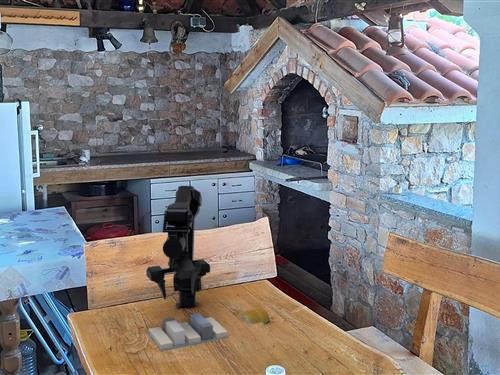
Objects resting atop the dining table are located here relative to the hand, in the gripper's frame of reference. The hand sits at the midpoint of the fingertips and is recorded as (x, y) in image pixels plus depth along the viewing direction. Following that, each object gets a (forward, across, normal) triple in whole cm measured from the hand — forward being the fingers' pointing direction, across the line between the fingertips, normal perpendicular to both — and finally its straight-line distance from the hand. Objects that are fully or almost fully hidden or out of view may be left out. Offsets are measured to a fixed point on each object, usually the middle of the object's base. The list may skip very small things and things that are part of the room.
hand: (179, 296), depth 174 cm
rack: (+10, 0, -7) cm, 13 cm away
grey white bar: (+9, -4, -7) cm, 13 cm away
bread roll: (+11, +24, -5) cm, 27 cm away
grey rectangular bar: (+10, +4, -7) cm, 13 cm away
